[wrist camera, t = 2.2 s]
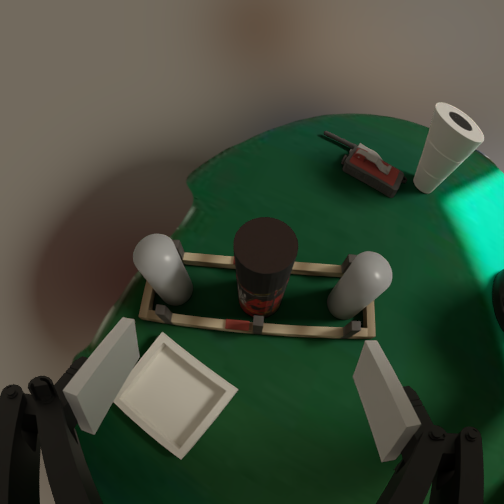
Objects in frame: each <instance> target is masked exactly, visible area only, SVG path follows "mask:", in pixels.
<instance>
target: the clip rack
mask: <svg viewBox="0 0 504 504" xmlns="http://www.w3.org/2000/svg"><path fill="white" fill-rule="evenodd" d="M172 241H173V243H174V245H175V247H176V249H177V251H178V254H179V256H180V258H181V260H182V262H183V264H186V265H197V266H207V267H218V268H230V269H236V268H235V258H234V257H231V256H219V255H208V254H196V253H185V252H184V250H183V247H182V245H181V243H180V240H172ZM356 257H357V255H350V254H348V256H347V258H346V259H345V261H344V262H343V264H342V265H328V264H316V263H303V262H294V265H293V268H292V271H291V274H302V275H315V276H329V277H342V276H343V275H344V273H345V272H346V270H347V269H348V268H349V266H350V265H351V263H352V262H353V260H354V259H355V258H356ZM155 293H156V291H155V290H154V289H153V288H152V286H151V285H150V284H149V283H148V281H146V285H145V289H144V294H143V298H142V303H141V307H140V312H139V317H140V318H141V319H142V320H148V321H154V322H160V323H167V324H173V325H180V326H188V327H195V328H203V329H212V330H220V331H230V332H240V333H251V334H263V335H276V336H292V337H312V338H345V339H372V338H374V337H375V313H374V300H373V301H372V302H371V303H370V304H369V305H367V306H366V307H365V308H364V309H363V328H361V321H351V322H350V323H348V324H347V325H346V326H345V327H343V328H342V327H315V326H296V325H281V324H267V323H264V316H256V315H254V319H253V322H250V321H242V320H232V319H226V320H223V319H214V318H205V317H197V316H189V315H181V314H174V313H172V312H171V311H170V310H169V309H168V308H167V307H166V305H159V304H157V305H156V310H155V311H153V310H152V307H153V302H154V297H155Z"/></svg>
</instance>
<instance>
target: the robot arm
mask: <svg viewBox="0 0 504 504" xmlns="http://www.w3.org/2000/svg"><path fill="white" fill-rule="evenodd" d="M492 296H493V305H494V310H495V314H496V317H497V320H498V322H499V324H500V326H501V328H502V329H503V331H504V269H503V270H502V271H500V272H499V273H498V274H497V276H496V277H495V280H494V283H493V291H492ZM139 357H140V355H139V349H138V343H137V336H136V329H135V321H134V319H129V318H124V317H123V318H122V319H121V320H120V321H119V322H118V323H117V325H116V326H115V327H114V328H113V329H112V330H111V332H110V333H109V334H108V335H107V336H106V337H105V339H104V340H103V341H102V342H101V343H100V345H99V346H98V347H97V348H96V349H95V351H94V352H93V353H92V354H91V356H90V357H89V358H86V357H83V356H82V357H81V358H79V359H77V360H76V361H74V362H73V364H72V365H71V366H70V368H69V369H68V370H67V371H66V373H64V374H63V376H62V377H61V378H60V379H59V380H58V382H57V383H56V384H55V385H53V382H52V380H51V379H50V378H49V377H46V376H38V377H35V378H34V379H32V380H31V381H30V383H29V384H28V389H29V391H30V393H31V395H30V394H25V393H23V391H22V389H21V387H20V386H18V385H14V384H13V385H9V386H6V387H5V388H4V389H3V391H2V393H1V396H0V504H40V497H39V468H40V449H41V450H42V455H43V460H44V464H45V468H46V473H47V476H48V480H49V484H50V487H51V491H52V494H53V497H54V501H55V504H103V503H102V500H101V498H100V496H99V494H98V491H97V489H96V487H95V484H94V482H93V479H92V477H91V474H90V472H89V469H88V466H87V463H86V461H85V458H84V455H83V452H82V449H81V446H80V442H79V439H78V436H77V432H76V430H75V428H74V427H75V426H76V424H77V423H78V424H79V426H80V428H81V430H83V431H86V432H88V433H91V434H93V435H95V433H96V431H97V429H98V428H99V426H100V424H101V422H102V421H103V419H104V417H105V415H106V414H107V412H108V410H109V408H110V407H111V405H112V403H113V401H114V400H115V398H116V396H117V394H118V393H119V391H120V389H121V388H122V386H123V384H124V382H125V381H126V379H127V377H128V376H129V374H130V372H131V371H132V369H133V367H134V366H135V364H136V362H137V361H138V359H139ZM353 378H354V381H355V384H356V387H357V390H358V392H359V395H360V398H361V401H362V404H363V407H364V410H365V413H366V416H367V419H368V422H369V425H370V428H371V431H372V434H373V437H374V440H375V443H376V446H377V449H378V453H379V456H380V459H381V462H385V461H391V460H396V458H397V457H398V456H399V454H400V453H401V454H402V457H403V459H402V460H401V462H400V463H399V464H398V465H397V466H396V468H395V469H394V470H396V471H395V473H394V474H393V476H392V478H391V480H390V481H389V483H388V485H387V487H386V488H385V490H384V492H383V493H382V495H381V496H380V498H379V500H378V501H377V503H376V504H423V502H424V499H425V497H426V495H427V493H428V490H429V488H430V486H431V483H432V488H431V495H430V501H429V504H483V493H484V470H483V450H482V438H481V434H480V432H479V431H478V430H477V429H476V428H474V427H465V428H463V429H462V431H461V432H460V433H459V434H452V433H446V431H445V430H444V429H443V428H441V427H440V426H436V425H433V423H432V421H431V419H430V417H429V415H428V413H427V412H426V410H425V408H424V406H422V405H423V404H422V402H421V400H419V397H418V395H417V393H416V392H415V391H414V390H413V389H412V388H411V387H410V386H405V387H402V385H401V383H400V381H399V380H398V378H397V376H396V374H395V372H394V370H393V368H392V367H391V365H390V363H389V361H388V359H387V357H386V356H385V354H384V352H383V350H382V349H381V347H380V345H379V343H378V342H377V341H365V343H364V346H363V349H362V352H361V355H360V358H359V361H358V364H357V367H356V369H355V372H354V375H353Z"/></svg>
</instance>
